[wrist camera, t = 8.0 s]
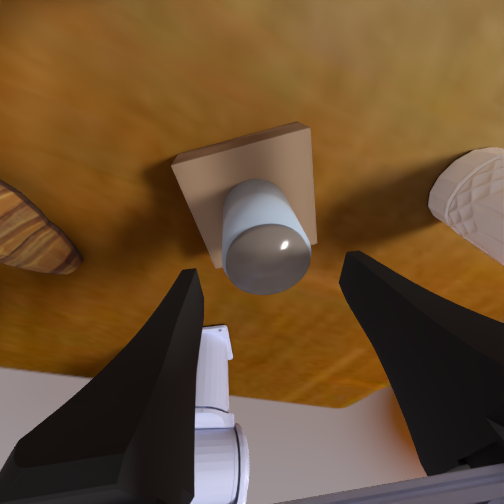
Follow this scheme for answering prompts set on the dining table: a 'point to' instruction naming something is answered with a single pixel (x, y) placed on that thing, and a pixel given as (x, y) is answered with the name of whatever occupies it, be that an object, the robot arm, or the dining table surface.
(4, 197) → the croissant
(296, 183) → the walnut box
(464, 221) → the white cup
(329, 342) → the dining table surface
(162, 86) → the dining table surface
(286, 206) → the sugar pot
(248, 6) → the dining table surface
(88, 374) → the dining table surface
